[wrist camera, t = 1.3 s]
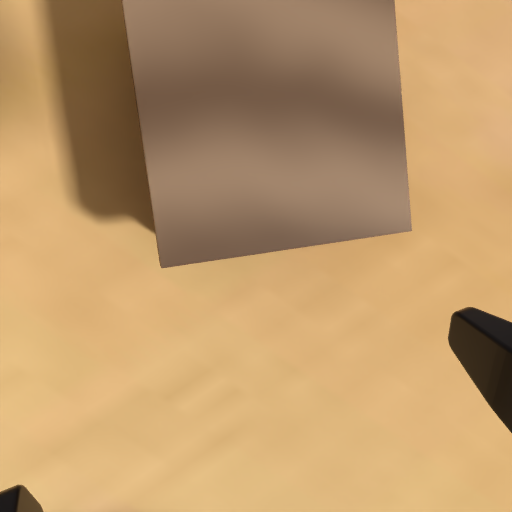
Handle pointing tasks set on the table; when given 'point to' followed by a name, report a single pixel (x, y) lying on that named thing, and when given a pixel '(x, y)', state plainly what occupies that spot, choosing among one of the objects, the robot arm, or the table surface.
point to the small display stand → (268, 123)
